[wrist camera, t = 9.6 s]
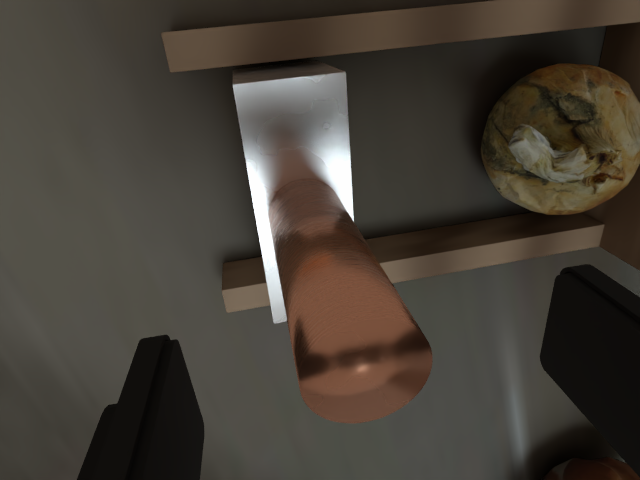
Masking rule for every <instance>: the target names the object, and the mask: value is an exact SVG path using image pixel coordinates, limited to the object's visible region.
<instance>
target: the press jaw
mask: <svg viewBox="0 0 640 480" xmlns="http://www.w3.org/2000/svg"><path fill="white" fill-rule="evenodd" d="M233 90H234V96H235V102H236V107H237V113H238V119H239V125H240V131H241V136H242V142H243V148H244V154H245V159H246V165H247V171H248V177H249V183H250V188H251V194H252V200H253V206H254V211H255V217H256V223H257V229H258V234H259V240H260V246H261V252H262V258H263V263H264V269H265V275H266V281H267V286H268V292H269V298H270V304H271V310H272V315H273V321H274V323H280V322H285V321H287V322H288V328H289V333H290V339H291V344H292V349H293V355H294V360H295V366H296V371H297V377H298V382H299V388H300V392H301V395H302V398H303V400H304V402H305V403H306V404H307V406H308V407H309V408H310V409H311V410H312V411H313V412H315V413H316V414H317V415H319V416H321V417H323V418H325V419H328V420H331V421H335V422H341V423H362V422H367V421H372V420H376V419H379V418H382V417H384V416H387V415H389V414H391V413H393V412H395V411H397V410H398V409H400V408H402V407H403V406H404V405H406V404H407V403H408V402H409V401H411V400H412V399H413V398H414V397H415V396H416V395H417V394H418V393H419V391H420V390H421V389H422V388H423V386H424V384H425V383H426V381H427V379H428V377H429V374H430V371H431V368H432V351H431V347H430V345H429V342H428V341H427V339H426V338H425V336H424V334H423V333H422V331H421V329H420V328H419V326H418V325H417V323H416V321H415V320H414V318H413V317H412V315H411V313H410V312H409V310H408V309H407V307H406V305H405V304H404V302H403V300H402V299H401V297H400V296H399V294H398V292H397V291H396V289H395V288H394V286H393V284H392V283H391V281H390V279H389V278H388V276H387V275H386V273H385V271H384V270H383V268H382V267H381V265H380V263H379V262H378V260H377V259H376V257H375V255H374V254H373V252H372V250H371V249H370V247H369V246H368V244H367V242H366V241H365V239H364V238H363V236H362V234H361V233H360V231H359V229H358V228H357V226H356V225H355V223H354V217H353V198H352V179H351V160H350V142H349V123H348V104H347V85H346V72H345V71H342V70H340V69H337V68H335V67H332V66H329V65H327V64H324V63H322V62H319V61H317V60H315V61H306V62H297V63H288V64H279V65H269V66H260V67H251V68H242V69H233Z"/></svg>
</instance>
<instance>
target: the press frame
mask: <svg viewBox="0 0 640 480" xmlns="http://www.w3.org/2000/svg"><path fill="white" fill-rule="evenodd" d="M598 26H607V30H606V35H605V39H604V44H603V49H602V54H601V59H600V63H599V67H600V68H602V69H605V70H608V71H610V72H612V73H614V74H616V75H618V76H619V77H621V78H622V79H624V80H625V81H626V82H628V83H629V85H630V88H631V90H632V91H633V93H634V94H635V96H636V97H637V99H638V101H639V103H640V0H494V1H484V2H474V3H463V4H453V5H442V6H432V7H422V8H411V9H401V10H390V11H380V12H370V13H359V14H349V15H339V16H328V17H318V18H307V19H297V20H287V21H276V22H266V23H255V24H245V25H235V26H224V27H214V28H204V29H193V30H183V31H172V32H162V33H161V35H162V39H163V43H164V48H165V52H166V56H167V60H168V65H169V69H170V73H172V72H181V71H190V70H199V69H209V68H218V67H227V66H236V65H246V64H255V63H264V62H273V61H283V60H292V59H301V58H311V57H320V56H329V55H338V54H348V53H357V52H366V51H375V50H385V49H394V48H403V47H412V46H422V45H431V44H440V43H449V42H459V41H468V40H477V39H487V38H496V37H505V36H514V35H524V34H533V33H542V32H551V31H561V30H570V29H579V28H588V27H598ZM365 241H366V242H367V244H368V246H369V247H370V249H371V250H372V252H373V254H374V255H375V257H376V259H377V260H378V262H379V263H380V265H381V267H382V268H383V270H384V271H385V273H386V275H387V276H388V278H389V279H390V281H391V283H396V282H402V281H408V280H413V279H419V278H424V277H430V276H435V275H441V274H447V273H452V272H458V271H463V270H469V269H474V268H480V267H486V266H491V265H497V264H502V263H508V262H514V261H519V260H525V259H530V258H536V257H541V256H547V255H553V254H558V253H564V252H569V251H575V250H580V249H586V248H592V247H597V246H600V247H601V248H603V249H605V250H606V251H608V252H610V253H611V254H613V255H615V256H616V257H618V258H620V259H621V260H623V261H625V262H626V263H628V264H630V265H631V266H633V267H635V268H636V269H638V270H640V165H639V166H638V168H637V170H636V172H635V174H634V176H633V178H632V179H631V180H630V182H629V184H628V185H627V186H626V187H625V188H623V189H622V190H621V191H619V192H618V193H617V194H616V195H615V196H614V197H612V198H611V199H609V200H607V201H605V202H603V203H601V204H599V205H598V206H596V207H594V208H592V209H589V210H587V211H584V212H580V213H575V214H571V215H547V214H544V213H538V212H530V213H524V214H518V215H512V216H506V217H500V218H494V219H488V220H482V221H476V222H470V223H463V224H457V225H451V226H445V227H439V228H433V229H427V230H421V231H415V232H409V233H403V234H397V235H391V236H385V237H378V238H372V239H366V240H365ZM222 294H223V298H224V302H225V307H226V311H227V313H229V312H235V311H240V310H246V309H251V308H257V307H262V306H268V305H271V304H270V298H269V292H268V286H267V281H266V275H265V269H264V263H263V258H262V257H257V258H251V259H245V260H239V261H233V262H227V263H223V273H222Z"/></svg>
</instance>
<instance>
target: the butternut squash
mask: <svg viewBox="0 0 640 480" xmlns="http://www.w3.org/2000/svg"><path fill="white" fill-rule="evenodd" d="M541 480H640V477H639V476H638V475H637V474H636V473H635V472H634V471H633V469H632V468H631V467H630V466H629V465H628V464H627V463H624V462H622V461H619V460H617V459H613V458H610V457H605V458H601V459H592V460H585V459H579V458H572V459H570V460H568V461H566V462H564V463H562V464H559V465H557V466H555V467H554V468H552V469H551V470H550V471H549V473H548V474H546V475H545V476H543V477H542V479H541Z"/></svg>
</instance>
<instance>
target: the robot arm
mask: <svg viewBox="0 0 640 480" xmlns="http://www.w3.org/2000/svg"><path fill="white" fill-rule="evenodd" d="M540 361H541V364H542V367H543V369H544V370H545V371H546V372H547V374H548V375H549V376H550V377H551V378H552V379H553V380H554V381H555V383H556V384H557V385H558V386H559V387H560V388H561V389H562V390H563V392H564V393H565V394H566V395H567V396H568V397H569V398H570V399H571V401H572V402H573V403H574V404H575V405H576V406H577V407H578V409H579V410H580V411H581V412H582V413H583V414H584V415H585V416H586V418H587V419H588V420H589V421H590V422H591V423H592V424H593V425H594V427H595V428H596V429H597V430H598V431H599V432H600V433H601V434H602V436H603V437H604V438H605V439H606V440H607V441H608V442H609V444H610V445H611V446H612V447H613V448H614V449H615V450H616V451H617V453H618V454H619V455H620V456H621V457H622V458H623V459H624V460H625V462H626V463H627V464H628V465H629V466H630V467H631V468H632V469H633V471H634V472H635V473H636V474H637V475H638V476H639V477H640V297H638V296H637V295H635V294H634V293H632V292H631V291H629V290H628V289H626V288H625V287H623V286H622V285H620V284H619V283H617V282H616V281H614V280H613V279H611V278H610V277H608V276H607V275H605V274H604V273H602V272H601V271H600V270H598V269H597V268H595V267H594V266H591V265H587V264H585V265H579V266H573V267H567V268H564V269H563V270H562V271H561V272H560V275H558V276H557V277H556V279H555V282H554V287H553V292H552V297H551V303H550V308H549V313H548V318H547V323H546V328H545V333H544V338H543V343H542V348H541V353H540ZM203 443H204V423H203V418H202V415H201V412H200V409H199V405H198V402H197V399H196V396H195V392H194V389H193V386H192V383H191V380H190V376H189V373H188V370H187V367H186V363H185V360H184V357H183V354H182V350H181V347H180V344H179V342H178V340H170V338H169V336H168V335H161V336H155V337H149V338H143V339H141V340H140V341H139V343H138V346H137V349H136V352H135V355H134V358H133V361H132V363H131V366H130V369H129V372H128V375H127V378H126V381H125V384H124V386H123V389H122V392H121V395H120V398H119V401H118V403H117V404H112V405H108V406H107V407H106V408H105V409H104V411H103V413H102V415H101V418H100V420H99V423H98V425H97V428H96V431H95V433H94V436H93V439H92V441H91V444H90V447H89V449H88V452H87V454H86V457H85V460H84V462H83V465H82V468H81V470H80V473H79V476H78V478H77V480H200V472H201V462H202V452H203Z"/></svg>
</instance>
